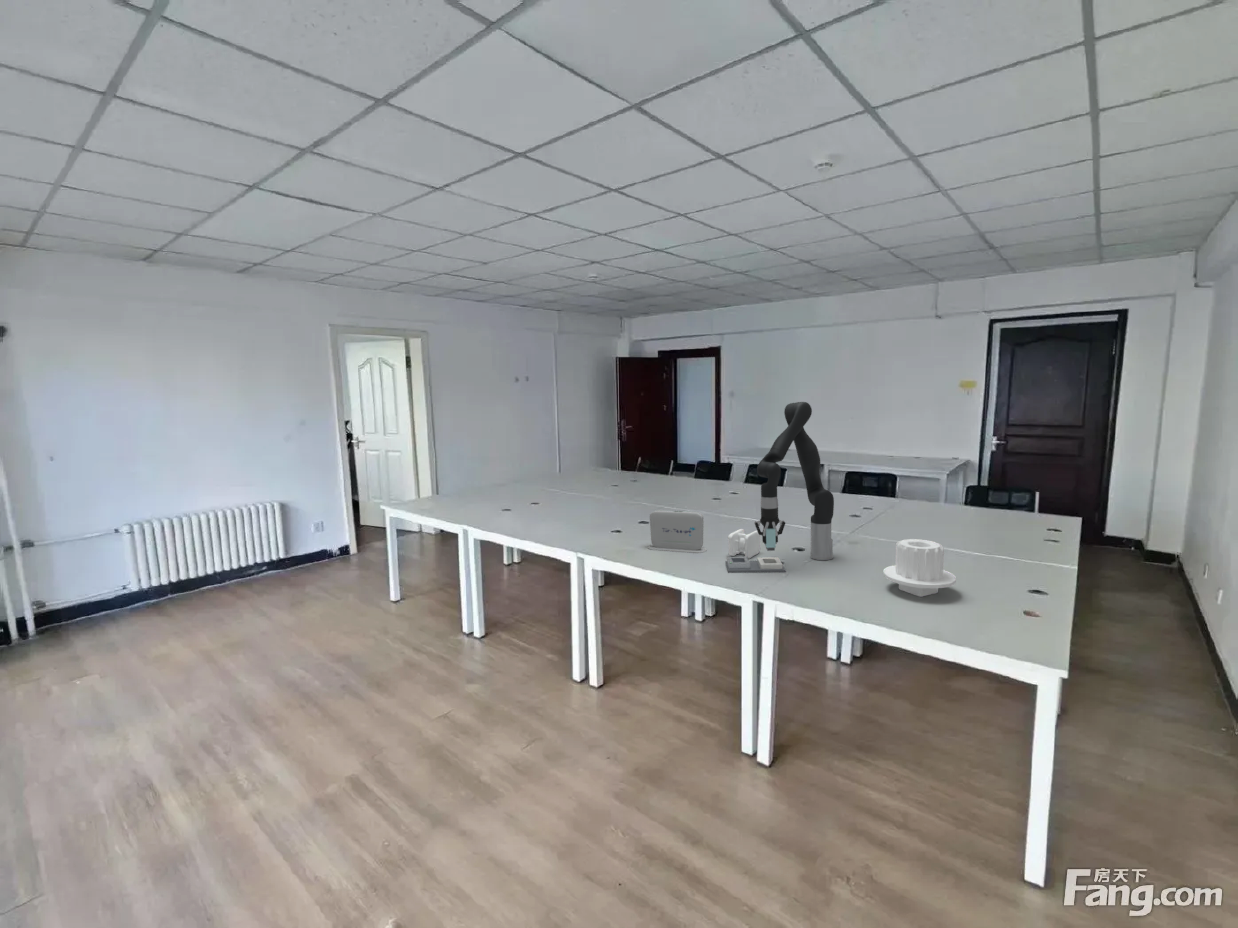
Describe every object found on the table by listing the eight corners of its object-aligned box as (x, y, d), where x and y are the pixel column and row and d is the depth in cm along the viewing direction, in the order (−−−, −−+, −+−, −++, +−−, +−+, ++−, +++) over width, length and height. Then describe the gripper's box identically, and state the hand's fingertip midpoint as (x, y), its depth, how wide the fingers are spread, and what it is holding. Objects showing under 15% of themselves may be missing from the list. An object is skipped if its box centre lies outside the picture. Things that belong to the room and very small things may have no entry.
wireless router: (645, 549, 295) (643, 512, 292) (651, 544, 304) (650, 508, 302) (704, 553, 283) (703, 514, 281) (708, 548, 292) (707, 510, 290)
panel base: (779, 562, 264) (779, 560, 264) (785, 572, 250) (785, 569, 250) (725, 563, 267) (725, 560, 266) (728, 572, 253) (728, 570, 253)
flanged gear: (924, 607, 205) (925, 556, 203) (868, 586, 228) (869, 541, 226) (970, 595, 215) (972, 546, 213) (913, 576, 238) (914, 532, 235)
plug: (773, 547, 259) (773, 526, 257) (775, 550, 254) (775, 528, 252) (764, 547, 259) (764, 526, 258) (766, 550, 254) (766, 529, 253)
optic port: (747, 561, 264) (747, 555, 263) (750, 568, 253) (750, 562, 253) (726, 562, 265) (726, 556, 264) (728, 569, 254) (728, 562, 254)
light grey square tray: (778, 561, 262) (778, 557, 262) (782, 568, 252) (782, 564, 252) (757, 561, 263) (757, 557, 263) (760, 568, 253) (760, 564, 253)
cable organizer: (747, 560, 269) (747, 536, 268) (727, 557, 276) (727, 534, 274) (760, 552, 281) (760, 529, 279) (741, 549, 287) (740, 527, 286)
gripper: (784, 504, 257) (784, 540, 259) (752, 505, 258) (752, 541, 260) (787, 507, 249) (787, 545, 252) (754, 508, 251) (755, 546, 253)
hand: (770, 543), depth 256 cm, fingers closed on plug, 4 cm apart
